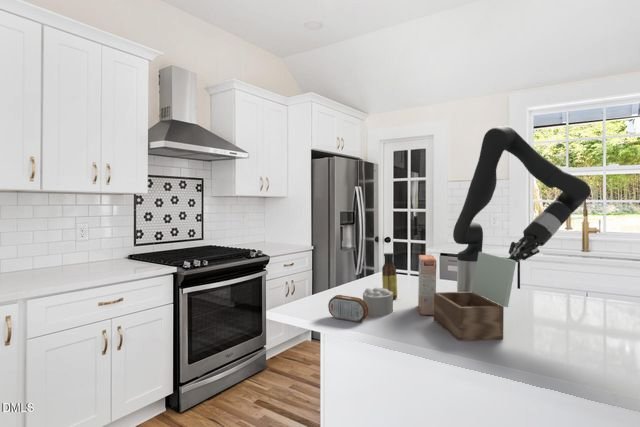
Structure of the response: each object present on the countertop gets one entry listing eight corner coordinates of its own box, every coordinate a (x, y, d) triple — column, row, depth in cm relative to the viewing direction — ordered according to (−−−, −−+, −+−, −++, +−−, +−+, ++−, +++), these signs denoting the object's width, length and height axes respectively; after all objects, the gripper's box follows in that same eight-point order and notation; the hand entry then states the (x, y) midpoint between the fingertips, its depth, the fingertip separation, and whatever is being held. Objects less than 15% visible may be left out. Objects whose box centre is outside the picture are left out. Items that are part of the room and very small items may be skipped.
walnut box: (471, 319, 138) (472, 291, 137) (503, 339, 118) (503, 306, 117) (434, 320, 136) (434, 292, 136) (459, 340, 117) (459, 308, 116)
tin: (368, 322, 135) (368, 298, 135) (365, 324, 133) (364, 300, 132) (331, 315, 143) (331, 293, 143) (327, 318, 140) (327, 295, 140)
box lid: (471, 291, 138) (477, 292, 138) (504, 306, 117) (510, 307, 117) (478, 251, 138) (484, 252, 138) (512, 260, 117) (518, 261, 117)
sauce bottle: (398, 297, 170) (398, 252, 170) (396, 300, 164) (396, 254, 164) (383, 296, 172) (383, 251, 172) (381, 299, 166) (381, 253, 166)
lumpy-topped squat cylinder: (395, 310, 150) (395, 288, 150) (382, 318, 139) (382, 294, 139) (371, 306, 156) (371, 285, 156) (357, 314, 145) (357, 291, 145)
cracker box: (436, 316, 142) (437, 259, 141) (419, 315, 143) (420, 259, 142) (433, 306, 155) (433, 254, 155) (417, 305, 157) (418, 254, 156)
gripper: (522, 220, 135) (488, 255, 134) (548, 222, 121) (510, 261, 121) (536, 235, 135) (503, 270, 135) (563, 238, 122) (526, 277, 121)
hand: (506, 265), depth 128 cm, fingers closed
